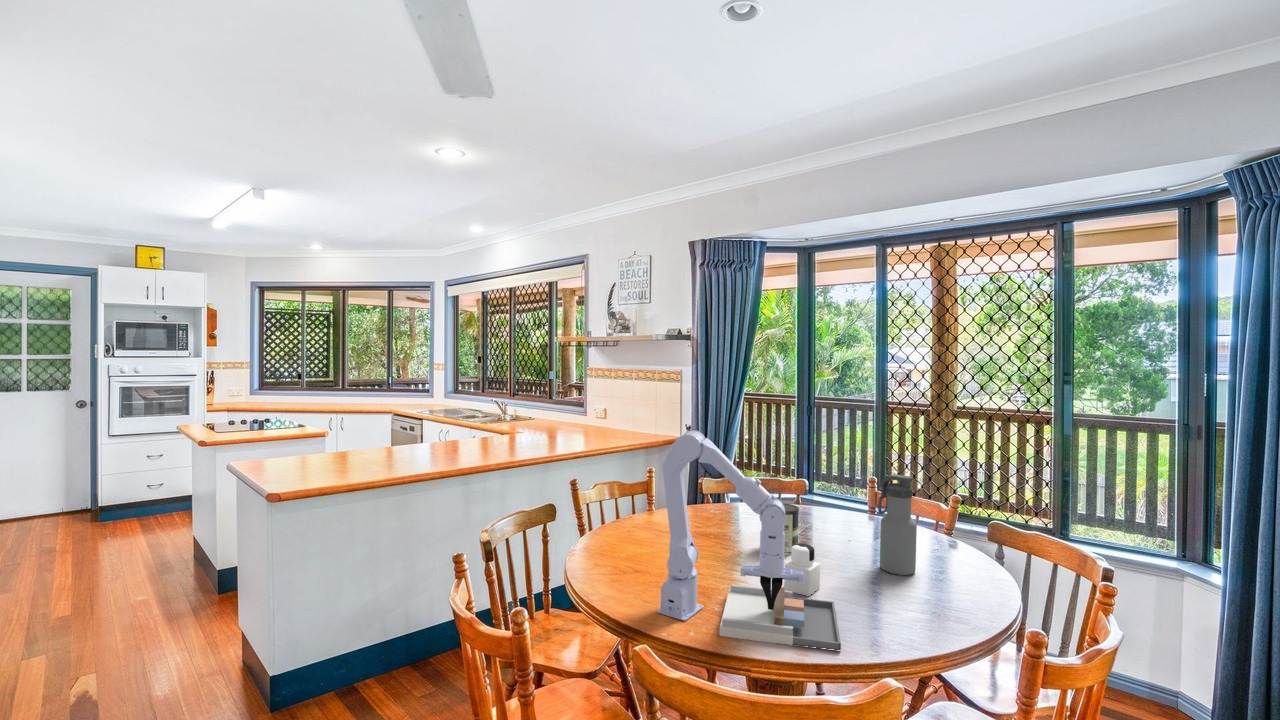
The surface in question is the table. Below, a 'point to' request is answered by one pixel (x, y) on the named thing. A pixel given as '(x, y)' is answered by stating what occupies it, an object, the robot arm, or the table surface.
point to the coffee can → (790, 527)
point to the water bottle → (897, 526)
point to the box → (818, 626)
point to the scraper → (780, 607)
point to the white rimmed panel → (753, 616)
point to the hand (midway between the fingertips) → (770, 607)
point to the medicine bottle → (803, 570)
